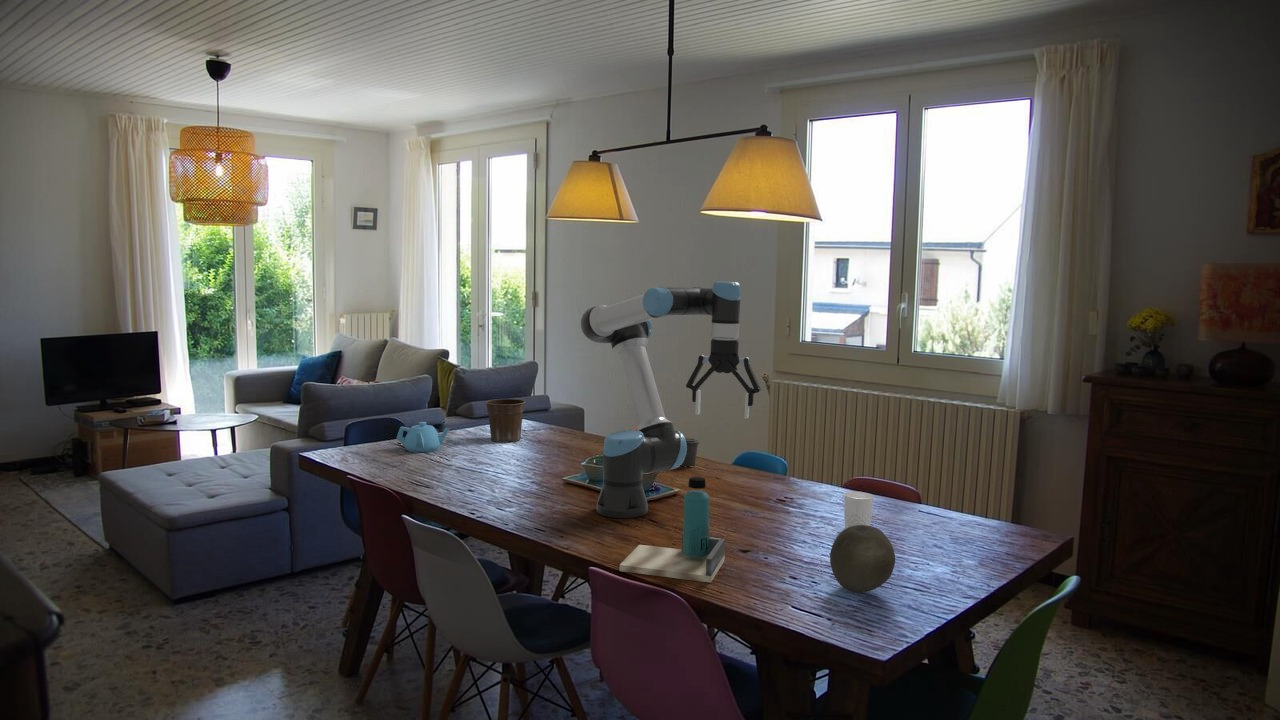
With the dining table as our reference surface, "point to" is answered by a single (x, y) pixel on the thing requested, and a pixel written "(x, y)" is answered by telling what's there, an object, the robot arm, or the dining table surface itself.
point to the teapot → (421, 438)
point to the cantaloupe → (862, 558)
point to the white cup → (857, 508)
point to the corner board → (676, 562)
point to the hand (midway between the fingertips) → (721, 416)
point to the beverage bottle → (696, 519)
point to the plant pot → (505, 419)
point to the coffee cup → (690, 452)
